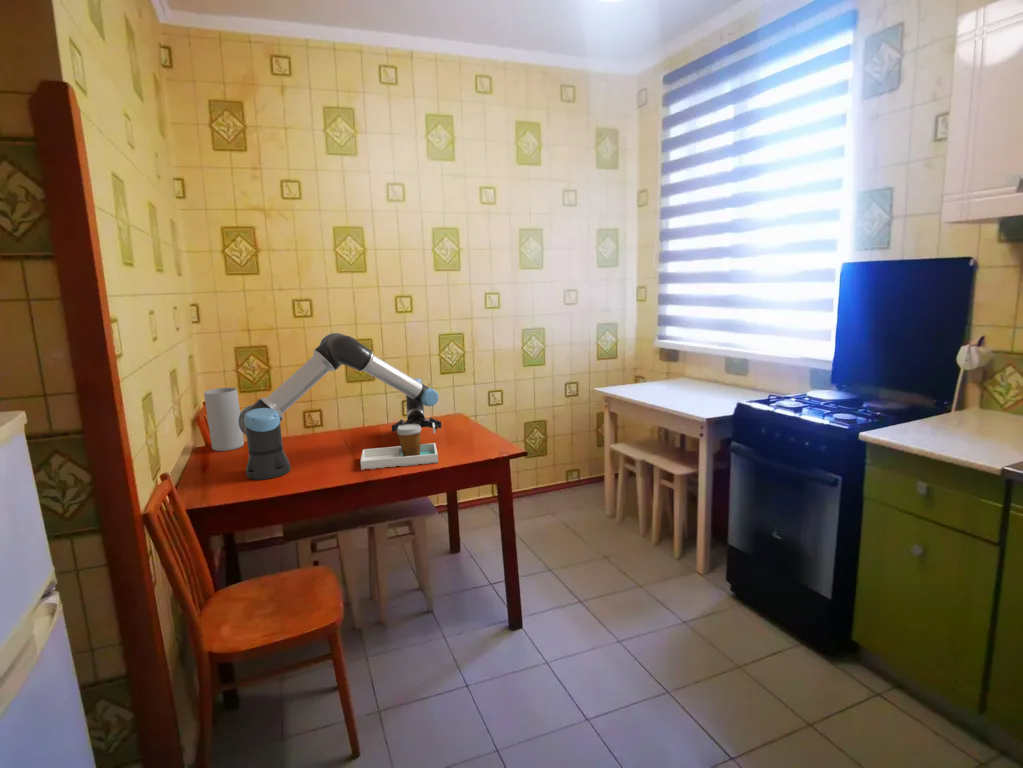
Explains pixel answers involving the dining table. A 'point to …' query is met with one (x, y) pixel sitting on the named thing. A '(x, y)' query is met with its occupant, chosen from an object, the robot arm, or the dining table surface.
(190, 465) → the dining table surface
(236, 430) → the cylinder vase
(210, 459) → the dining table surface
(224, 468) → the dining table surface
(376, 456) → the divided tray
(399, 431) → the disposable coffee cup
